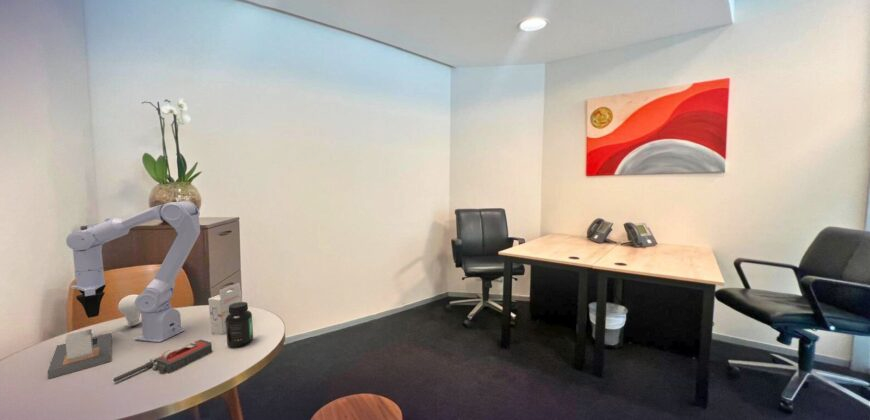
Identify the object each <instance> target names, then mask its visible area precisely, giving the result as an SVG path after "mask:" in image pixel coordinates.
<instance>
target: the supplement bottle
mask: <svg viewBox="0 0 870 420" xmlns="http://www.w3.org/2000/svg"><path fill="white" fill-rule="evenodd" d="M229 313H230V314H229V315H228V316H227V317H226V333H225V335H226V344H227V347H229V348H231V349H239V348H244V347H246V346H249V344H252V342H253V341H254V329H253V328H254V327H253V314H252V312H251V311H250V310H249V306H248V302H247V301H242V302H238V303H234V304H231V305H230V306H229Z"/></svg>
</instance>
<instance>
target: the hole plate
mask: <svg viewBox="0 0 870 420" xmlns="http://www.w3.org/2000/svg"><path fill="white" fill-rule="evenodd" d="M112 336H113V335H112V332H109V333H105V334H101V335H95V336H92V341H93V356H90V357H86V358H82V359H78V360H74V361H71V362H68V359H67V350H66V343H61V344H58V345H56V346H55V350H54V353H53V355H52V358H51V361H50V364H49V367H48V369H47V378H48V379H49V380H51V379H53V378H57V377H60V376H64V375H68V374H72V373H75V372H79V371H81V370H82V371H83V370H85V369H89V368H93V367H96V366H100V365H103V364H107V363H110V362H112V350H113V349H112V347H113V346H112V345H113V337H112Z"/></svg>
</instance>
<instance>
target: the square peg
mask: <svg viewBox="0 0 870 420" xmlns="http://www.w3.org/2000/svg"><path fill="white" fill-rule="evenodd" d="M92 337H93V333H92V328H90V329H86V330H80V331H78V332H77V331H76V332H73V333H69V334H67V335H66V337H65V344H66V350H67V359H68V362H71V361H74V360H78V359H82V358H86V357H90V356H93V341H92Z"/></svg>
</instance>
